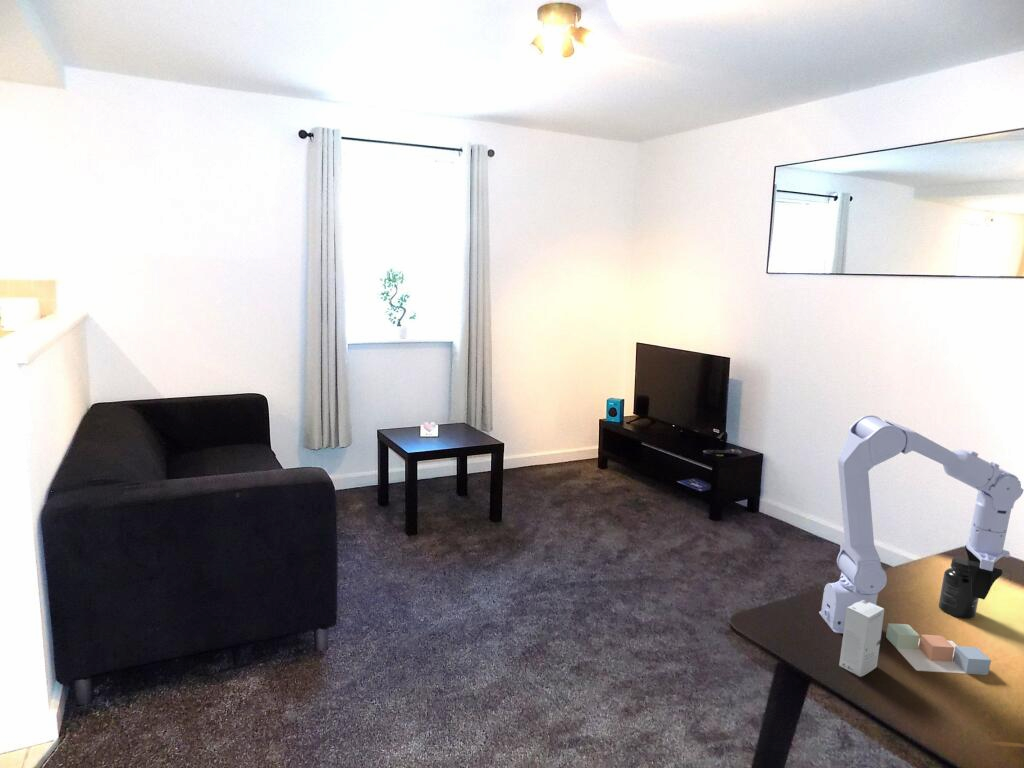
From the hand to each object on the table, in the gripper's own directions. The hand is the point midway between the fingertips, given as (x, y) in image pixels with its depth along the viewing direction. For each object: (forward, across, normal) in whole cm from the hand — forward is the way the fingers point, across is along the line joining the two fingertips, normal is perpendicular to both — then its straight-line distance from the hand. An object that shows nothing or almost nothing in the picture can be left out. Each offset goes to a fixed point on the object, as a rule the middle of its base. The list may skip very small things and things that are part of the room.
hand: (976, 589), depth 134 cm
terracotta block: (+10, -14, +6) cm, 18 cm away
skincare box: (+10, -26, +18) cm, 34 cm away
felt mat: (+10, -14, +6) cm, 18 cm away
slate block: (+10, -14, 0) cm, 17 cm away
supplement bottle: (+10, +9, +2) cm, 14 cm away
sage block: (+10, -13, +12) cm, 20 cm away
